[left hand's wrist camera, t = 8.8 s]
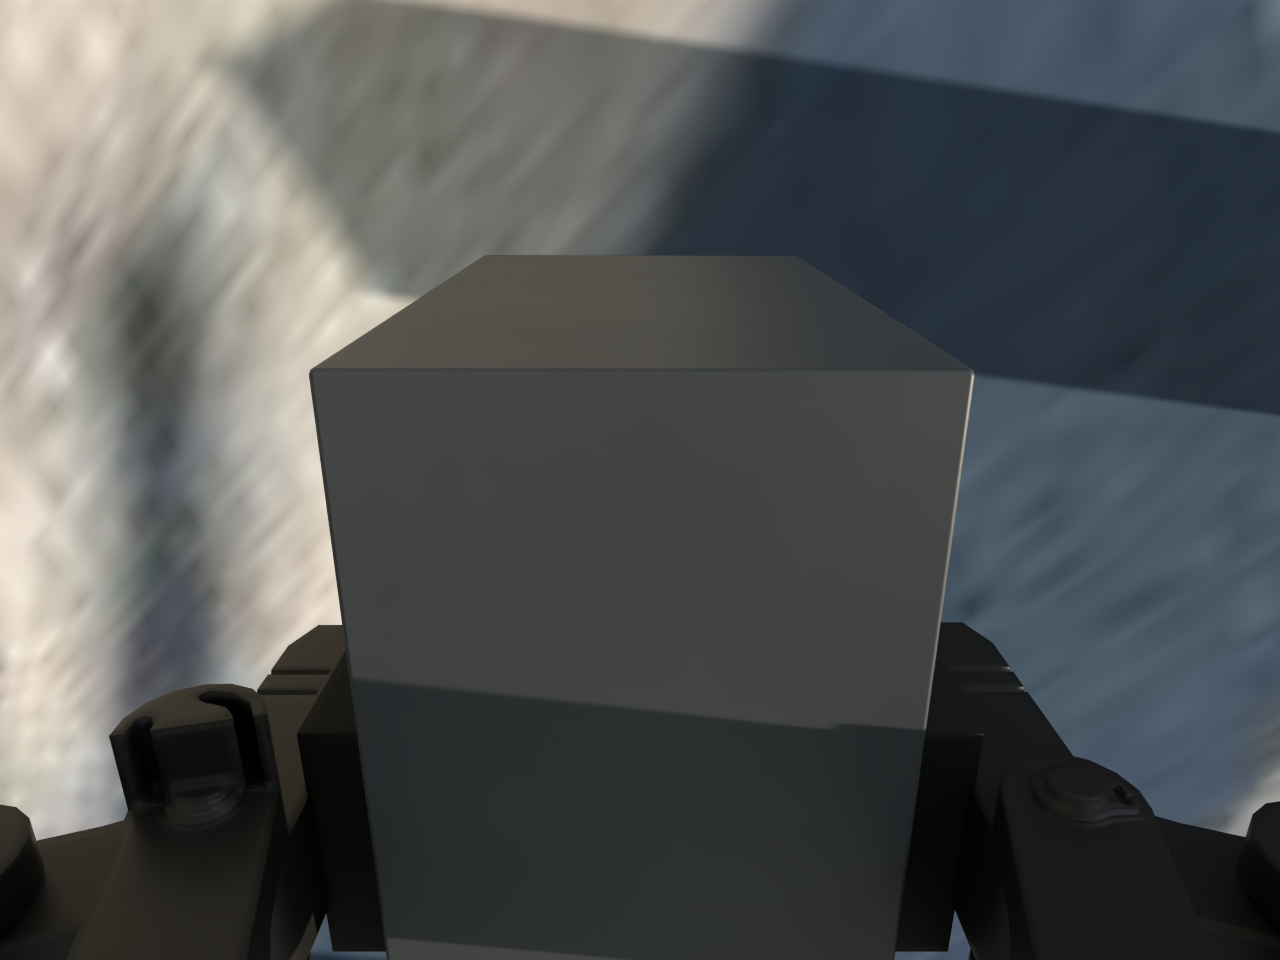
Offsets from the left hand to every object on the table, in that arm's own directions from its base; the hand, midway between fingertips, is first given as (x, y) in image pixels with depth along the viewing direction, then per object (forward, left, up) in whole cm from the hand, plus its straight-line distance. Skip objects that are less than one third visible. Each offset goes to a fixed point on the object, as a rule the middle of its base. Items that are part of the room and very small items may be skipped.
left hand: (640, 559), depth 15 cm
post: (+15, +17, -1) cm, 23 cm away
